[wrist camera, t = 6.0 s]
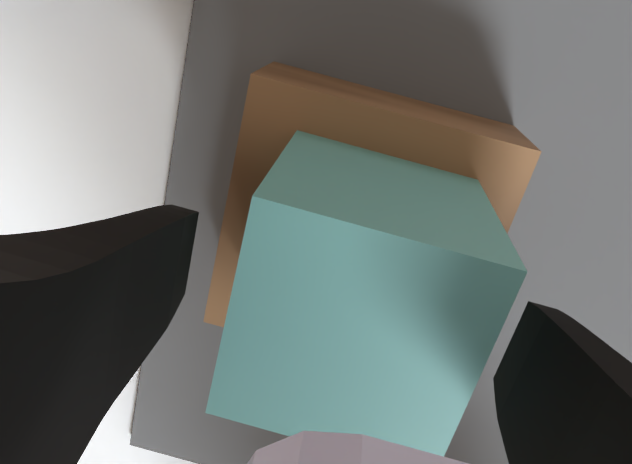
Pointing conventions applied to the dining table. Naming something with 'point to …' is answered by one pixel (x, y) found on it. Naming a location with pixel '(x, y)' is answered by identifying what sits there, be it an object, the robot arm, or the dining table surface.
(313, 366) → the teal block
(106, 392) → the robot arm
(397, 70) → the mat
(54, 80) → the dining table surface
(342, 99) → the walnut base
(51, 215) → the dining table surface
